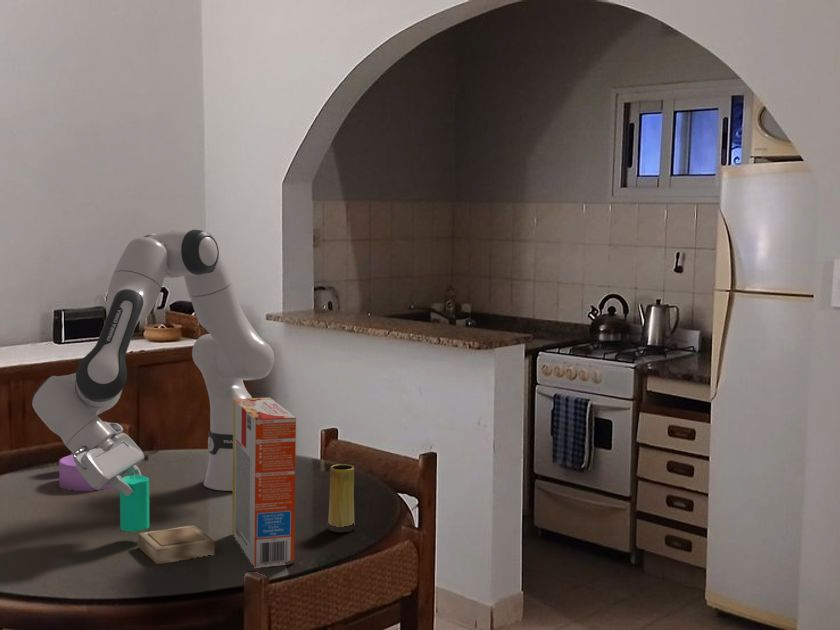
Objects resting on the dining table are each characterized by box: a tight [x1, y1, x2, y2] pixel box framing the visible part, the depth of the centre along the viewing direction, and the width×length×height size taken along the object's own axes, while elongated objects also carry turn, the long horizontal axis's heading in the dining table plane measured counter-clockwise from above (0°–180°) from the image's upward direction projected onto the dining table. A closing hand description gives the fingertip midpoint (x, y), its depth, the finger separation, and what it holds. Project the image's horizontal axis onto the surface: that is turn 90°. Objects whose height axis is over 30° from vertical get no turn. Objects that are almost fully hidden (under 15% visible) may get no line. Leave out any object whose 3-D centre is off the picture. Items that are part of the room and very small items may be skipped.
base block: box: [138, 524, 215, 565], centre depth 210 cm, size 12×12×3 cm
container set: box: [58, 452, 123, 492], centre depth 265 cm, size 25×15×13 cm, turn 28°
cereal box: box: [231, 397, 297, 567], centre depth 211 cm, size 23×8×30 cm, turn 21°
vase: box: [327, 463, 355, 527], centre depth 227 cm, size 6×6×14 cm
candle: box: [119, 472, 150, 533], centre depth 215 cm, size 6×6×12 cm
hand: (137, 489), depth 214 cm, fingers closed on candle, 5 cm apart
